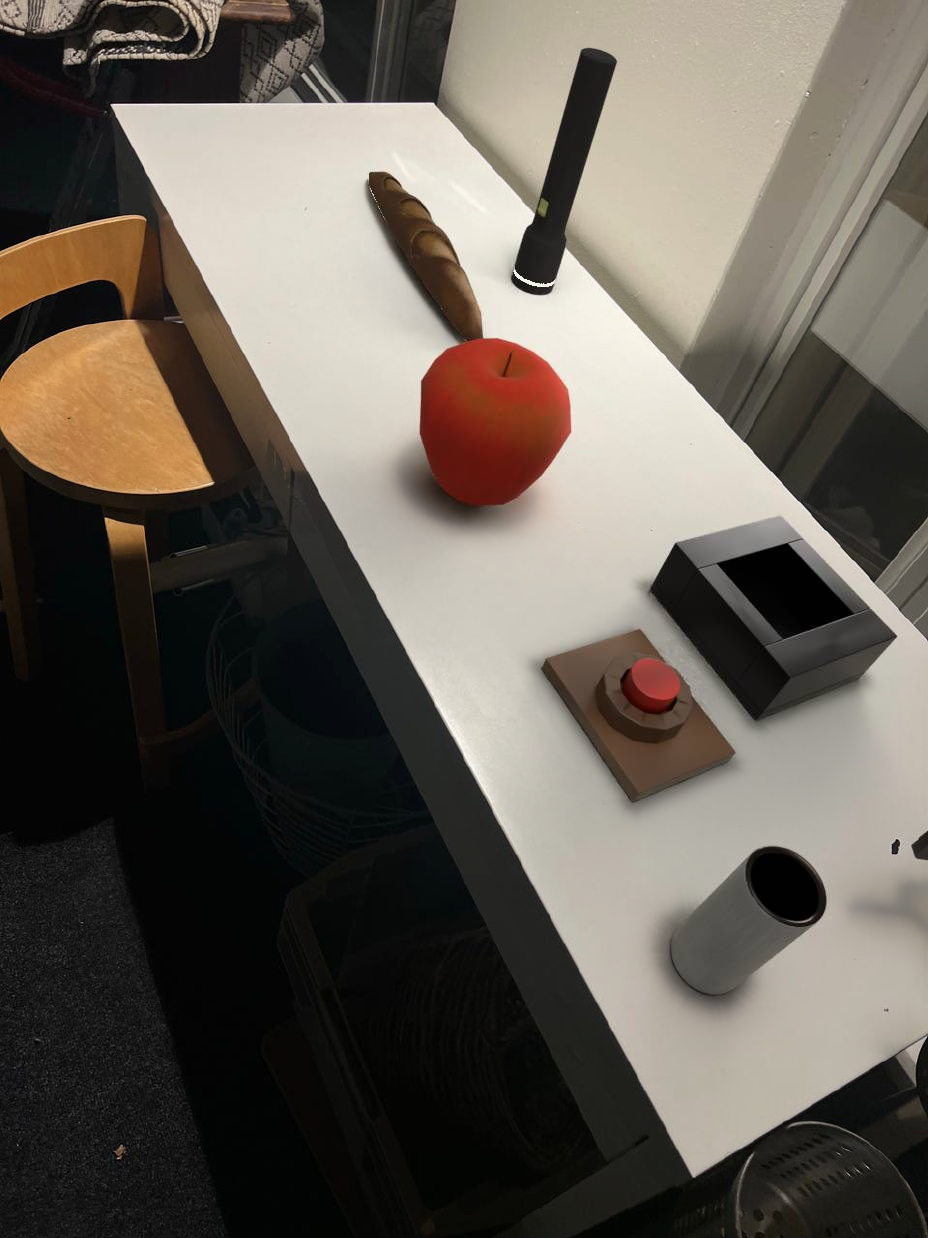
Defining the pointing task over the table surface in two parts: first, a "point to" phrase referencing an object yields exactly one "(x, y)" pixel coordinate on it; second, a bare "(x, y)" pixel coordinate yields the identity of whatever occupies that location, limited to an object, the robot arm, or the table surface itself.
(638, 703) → the button
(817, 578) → the open-top black bin
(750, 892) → the dark grey hollow cylinder
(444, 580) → the table surface
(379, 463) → the table surface
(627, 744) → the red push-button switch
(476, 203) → the table surface
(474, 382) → the apple
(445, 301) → the bread
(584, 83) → the flashlight
